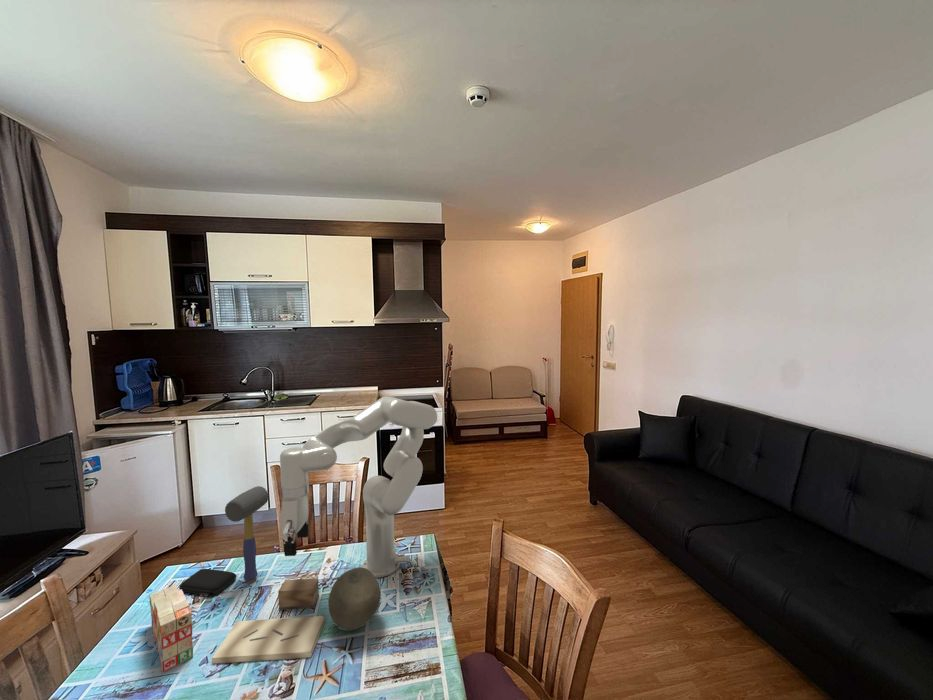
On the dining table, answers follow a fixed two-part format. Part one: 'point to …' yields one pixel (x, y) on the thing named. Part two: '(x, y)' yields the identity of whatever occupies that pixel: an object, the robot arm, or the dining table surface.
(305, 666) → the dining table surface
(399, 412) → the robot arm
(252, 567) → the rubber mallet
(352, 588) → the cantaloupe
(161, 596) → the stack of blocks
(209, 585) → the carrying case or bag
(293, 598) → the sanding block
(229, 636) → the birch board
